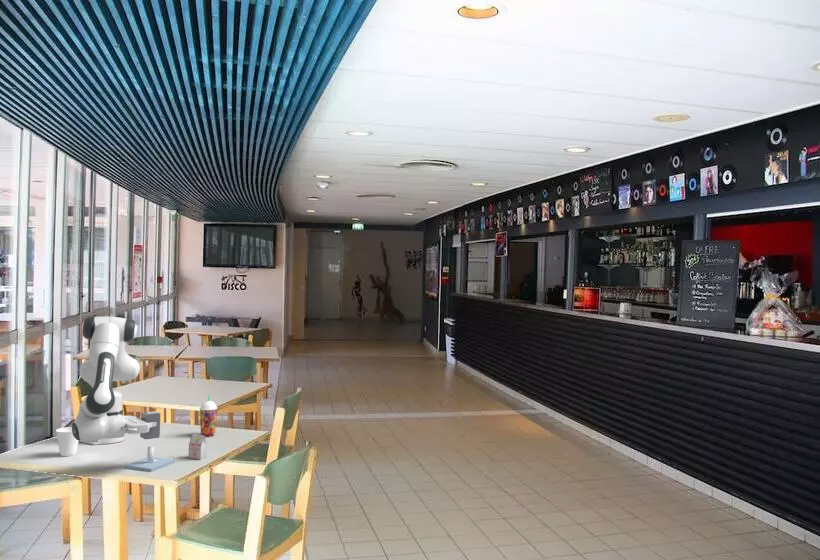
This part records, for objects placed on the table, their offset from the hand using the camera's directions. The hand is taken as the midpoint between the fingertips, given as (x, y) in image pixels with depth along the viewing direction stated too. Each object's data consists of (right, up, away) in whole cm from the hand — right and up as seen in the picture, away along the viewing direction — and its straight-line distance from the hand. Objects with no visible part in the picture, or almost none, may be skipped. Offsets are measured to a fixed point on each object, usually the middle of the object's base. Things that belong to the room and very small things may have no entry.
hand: (152, 422), depth 263 cm
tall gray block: (-1, -6, -1) cm, 6 cm away
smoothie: (+7, -18, +51) cm, 55 cm away
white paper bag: (+15, -18, +12) cm, 26 cm away
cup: (-41, -17, +11) cm, 46 cm away
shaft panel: (0, -17, -1) cm, 18 cm away
